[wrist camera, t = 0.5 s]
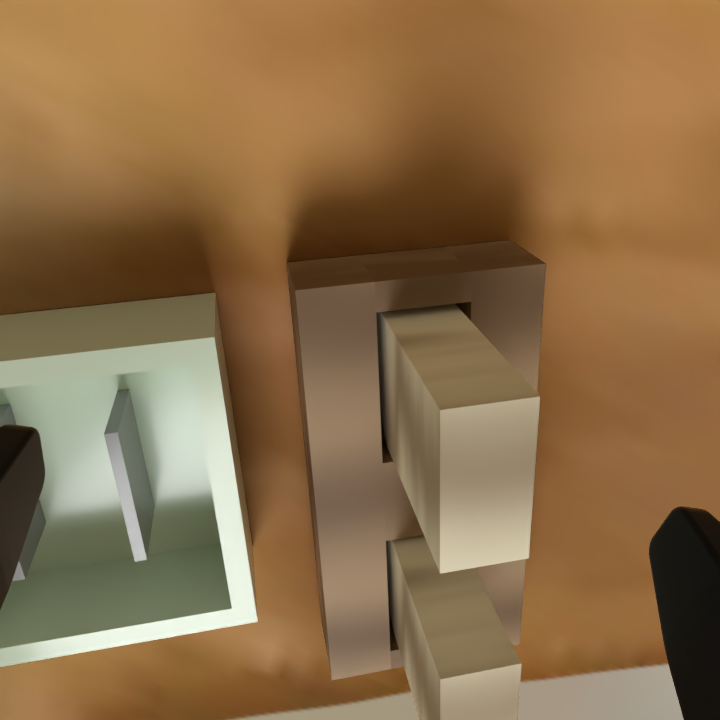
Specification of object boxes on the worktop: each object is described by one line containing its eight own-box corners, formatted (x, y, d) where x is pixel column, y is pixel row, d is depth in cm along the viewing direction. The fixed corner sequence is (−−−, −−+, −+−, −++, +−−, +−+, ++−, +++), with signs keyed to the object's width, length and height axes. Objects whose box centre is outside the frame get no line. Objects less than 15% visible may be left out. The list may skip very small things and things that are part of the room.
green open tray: (252, 547, 28) (257, 621, 24) (-35, 593, 26) (-76, 680, 23) (215, 292, 23) (214, 337, 20) (-138, 329, 22) (-209, 385, 18)
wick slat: (436, 581, 30) (513, 772, 22) (381, 590, 30) (440, 788, 22) (435, 488, 28) (521, 663, 20) (377, 497, 28) (440, 679, 20)
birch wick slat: (435, 404, 27) (528, 558, 19) (373, 412, 26) (440, 573, 18) (435, 282, 24) (540, 396, 16) (367, 289, 24) (440, 410, 16)
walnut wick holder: (494, 593, 31) (519, 644, 29) (322, 624, 30) (332, 680, 27) (510, 239, 24) (545, 263, 22) (286, 262, 23) (295, 290, 20)
